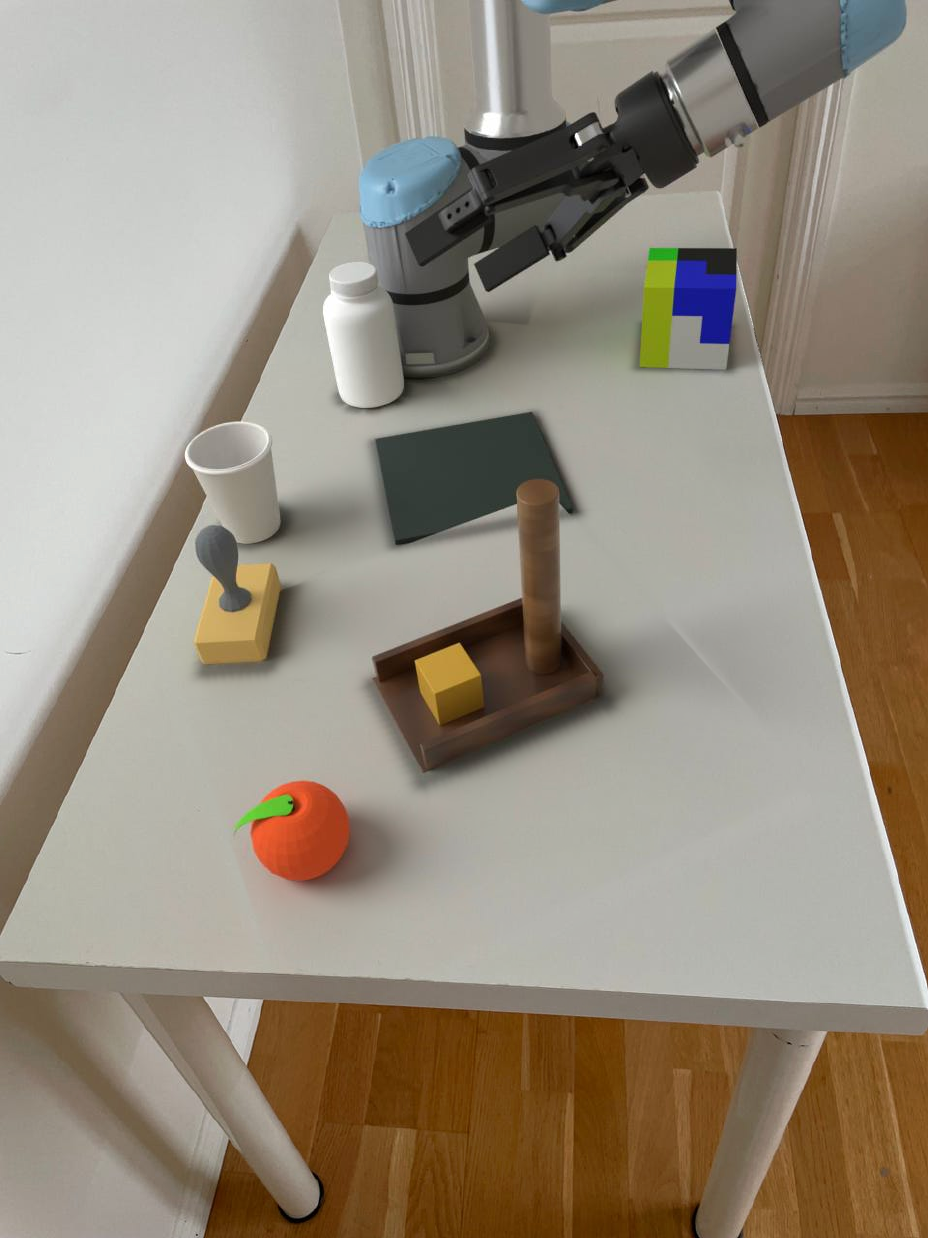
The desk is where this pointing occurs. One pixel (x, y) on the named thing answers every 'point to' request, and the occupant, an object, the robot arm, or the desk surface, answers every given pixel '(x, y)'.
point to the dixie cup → (238, 478)
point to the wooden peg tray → (500, 652)
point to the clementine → (299, 830)
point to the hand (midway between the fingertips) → (449, 265)
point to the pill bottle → (362, 337)
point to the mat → (461, 473)
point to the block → (450, 683)
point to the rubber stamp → (234, 602)
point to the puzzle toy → (688, 307)
